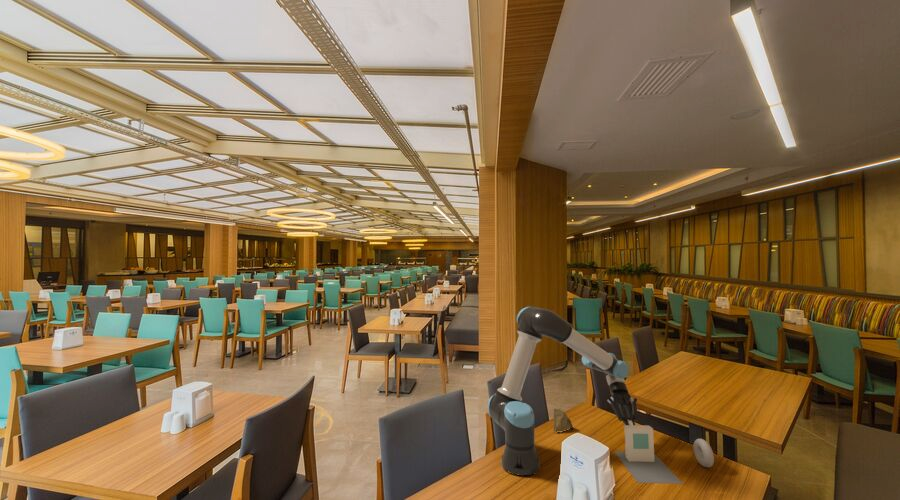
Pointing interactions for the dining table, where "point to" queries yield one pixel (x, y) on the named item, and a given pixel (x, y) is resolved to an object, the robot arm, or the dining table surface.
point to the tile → (639, 443)
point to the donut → (703, 453)
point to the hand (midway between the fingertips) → (634, 437)
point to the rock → (561, 421)
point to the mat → (649, 470)
